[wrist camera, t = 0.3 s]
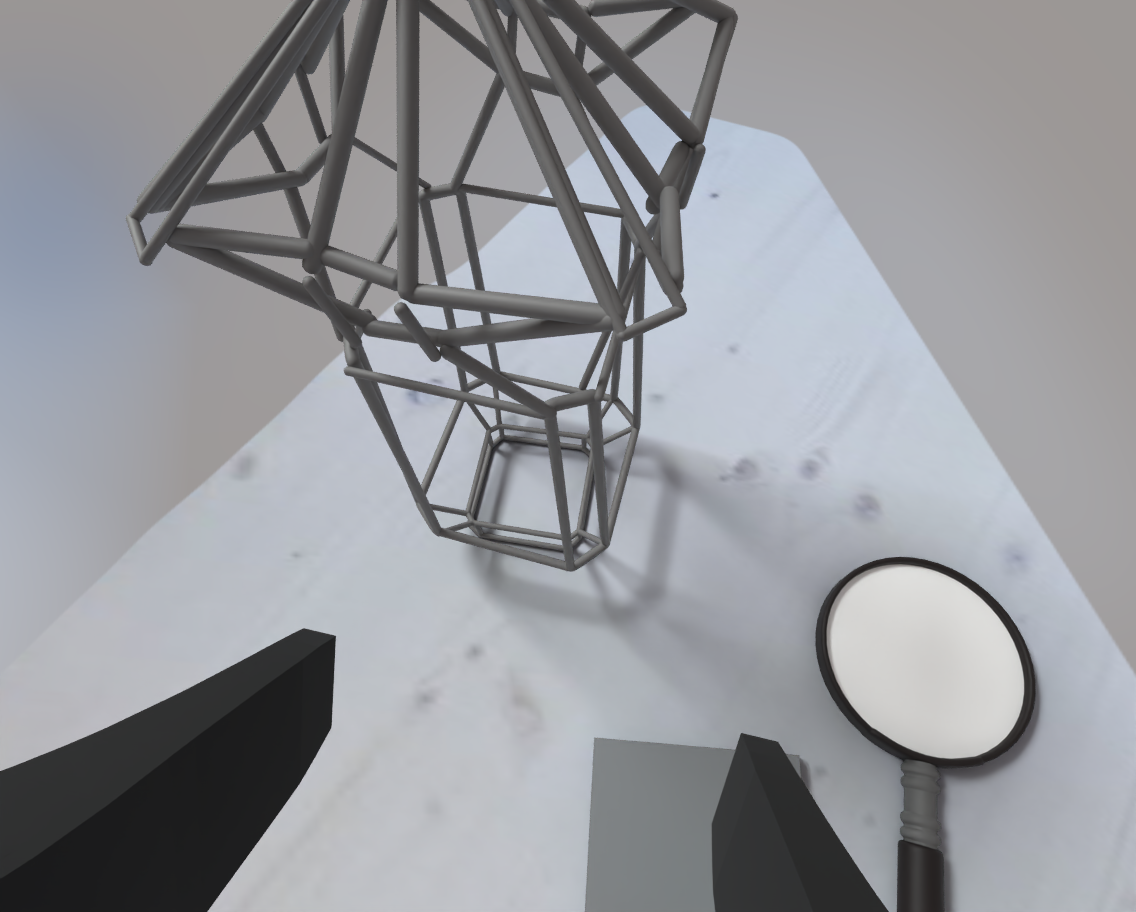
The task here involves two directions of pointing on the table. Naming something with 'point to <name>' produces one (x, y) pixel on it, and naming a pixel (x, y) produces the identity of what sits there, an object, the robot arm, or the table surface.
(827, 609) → the magnifying glass
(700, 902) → the mat
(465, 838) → the table surface
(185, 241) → the geometric lantern
